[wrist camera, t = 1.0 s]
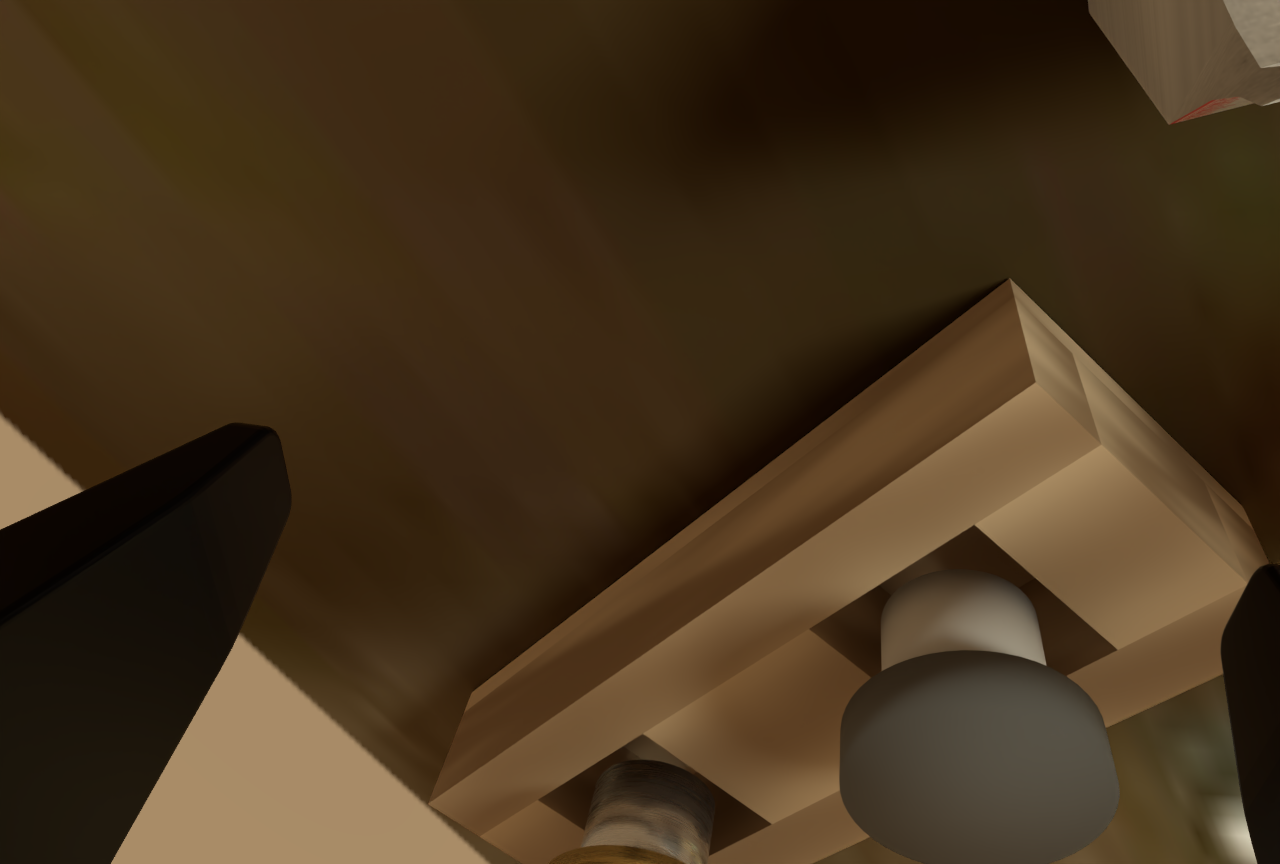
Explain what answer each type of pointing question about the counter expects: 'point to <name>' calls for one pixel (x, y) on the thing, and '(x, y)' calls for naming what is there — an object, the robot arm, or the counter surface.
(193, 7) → the counter surface
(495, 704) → the oak block
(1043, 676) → the grey domed piece
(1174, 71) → the white printed box
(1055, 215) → the counter surface
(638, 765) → the brass plug
